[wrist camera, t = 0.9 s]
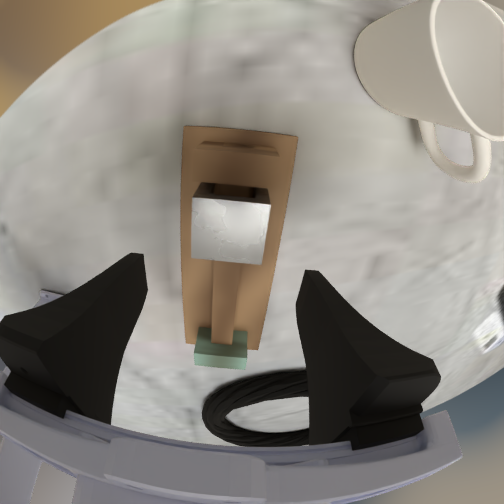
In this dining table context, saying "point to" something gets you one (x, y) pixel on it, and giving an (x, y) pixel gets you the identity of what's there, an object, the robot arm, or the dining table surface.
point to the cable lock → (251, 394)
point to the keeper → (229, 225)
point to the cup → (440, 74)
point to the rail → (231, 273)
